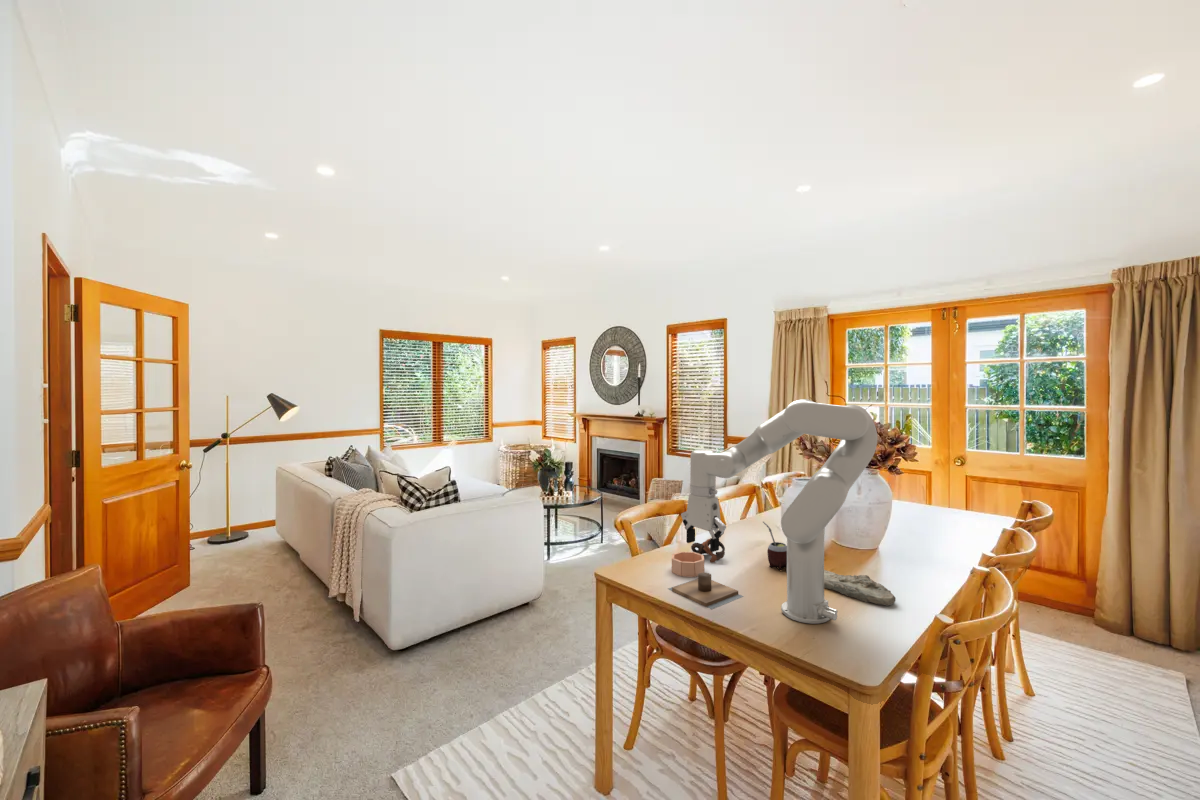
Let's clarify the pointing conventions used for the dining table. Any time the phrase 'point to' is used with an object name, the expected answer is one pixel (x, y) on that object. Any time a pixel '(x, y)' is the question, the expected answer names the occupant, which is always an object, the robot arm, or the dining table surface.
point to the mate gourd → (777, 553)
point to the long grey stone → (858, 588)
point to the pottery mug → (708, 550)
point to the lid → (705, 590)
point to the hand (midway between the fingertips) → (702, 546)
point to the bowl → (687, 564)
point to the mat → (720, 601)
